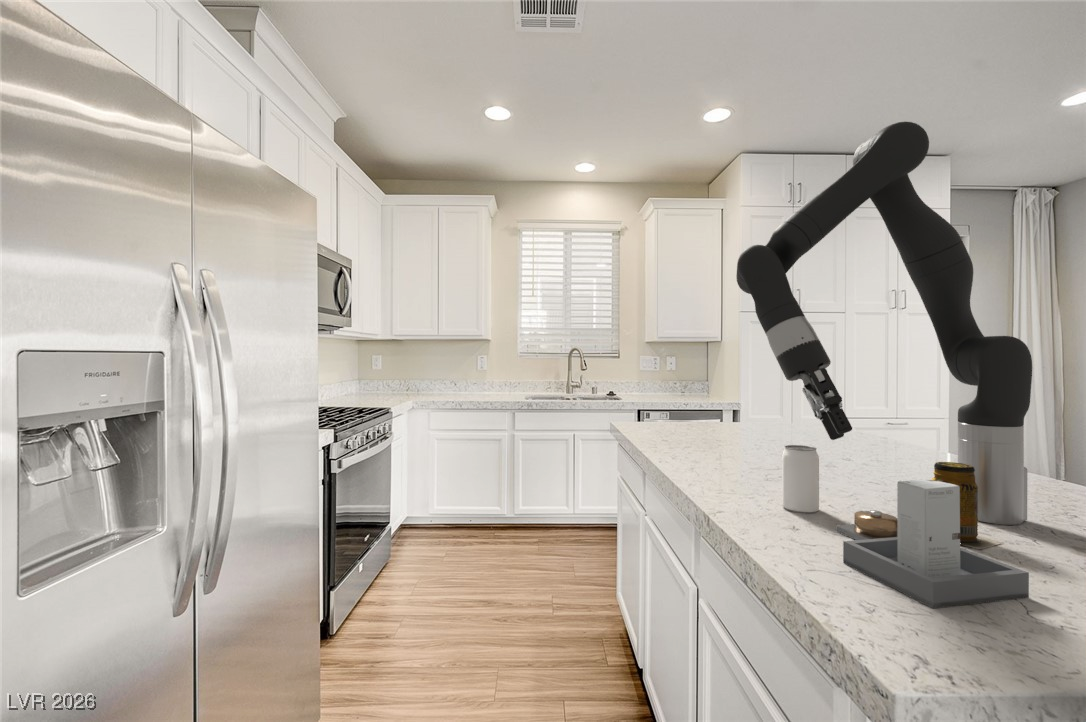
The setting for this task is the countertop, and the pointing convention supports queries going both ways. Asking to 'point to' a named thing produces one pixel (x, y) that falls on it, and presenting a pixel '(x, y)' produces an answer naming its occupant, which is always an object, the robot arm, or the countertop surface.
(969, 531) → the condiment
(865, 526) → the service bell
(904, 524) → the skincare box
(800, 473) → the can
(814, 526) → the countertop surface
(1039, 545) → the countertop surface
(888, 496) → the countertop surface
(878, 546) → the tray
